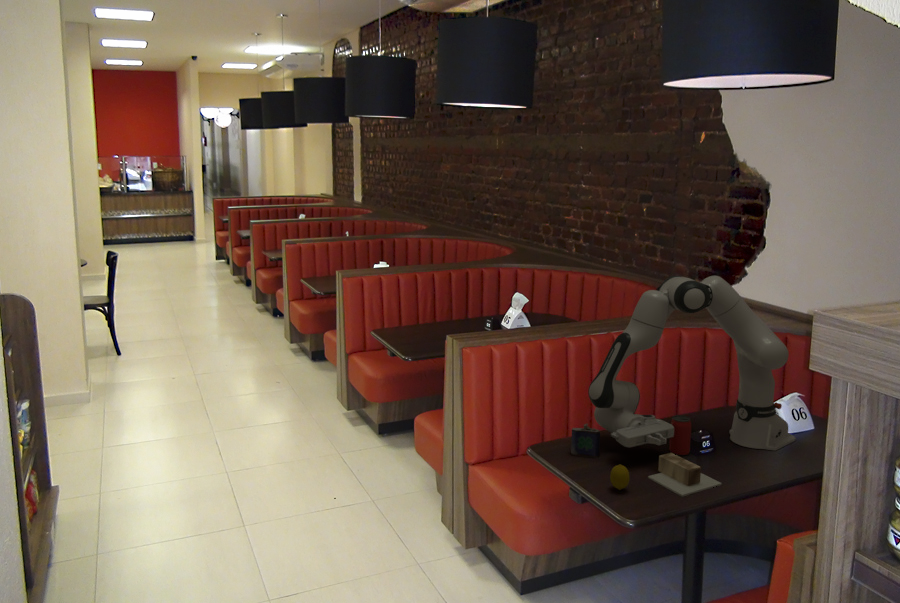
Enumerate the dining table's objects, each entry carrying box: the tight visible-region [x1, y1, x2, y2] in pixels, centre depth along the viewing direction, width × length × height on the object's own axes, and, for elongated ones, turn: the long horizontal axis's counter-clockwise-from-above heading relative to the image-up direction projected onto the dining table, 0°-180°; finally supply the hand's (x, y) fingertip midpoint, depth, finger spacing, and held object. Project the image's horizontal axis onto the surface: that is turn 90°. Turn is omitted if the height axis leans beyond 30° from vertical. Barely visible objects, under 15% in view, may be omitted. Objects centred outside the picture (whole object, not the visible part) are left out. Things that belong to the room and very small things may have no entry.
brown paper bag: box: [658, 452, 702, 486], centre depth 216 cm, size 5×5×12 cm
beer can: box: [668, 414, 692, 456], centre depth 235 cm, size 7×7×12 cm
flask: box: [570, 423, 601, 458], centre depth 234 cm, size 9×3×11 cm, turn 76°
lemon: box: [609, 464, 630, 491], centre depth 209 cm, size 6×6×8 cm
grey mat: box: [647, 472, 723, 498], centre depth 215 cm, size 16×14×1 cm
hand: (663, 442), depth 221 cm, fingers closed
